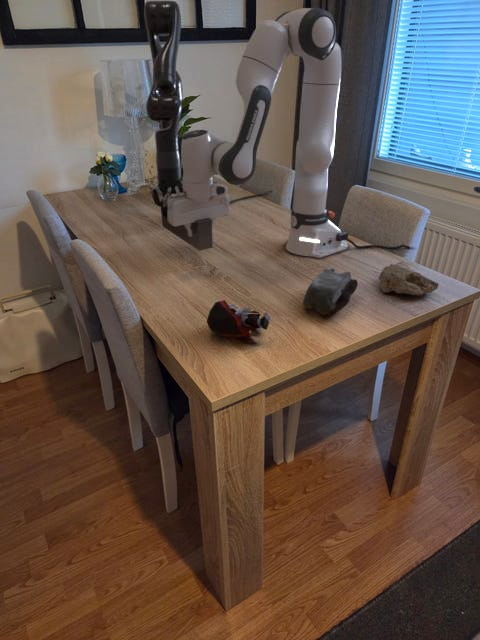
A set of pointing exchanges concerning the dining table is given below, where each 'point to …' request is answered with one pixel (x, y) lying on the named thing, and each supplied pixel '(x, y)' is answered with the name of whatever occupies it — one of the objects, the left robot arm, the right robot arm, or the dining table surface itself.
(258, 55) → the right robot arm
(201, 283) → the dining table surface
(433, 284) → the artifact
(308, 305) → the dark grey rock
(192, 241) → the bar
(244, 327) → the toy
